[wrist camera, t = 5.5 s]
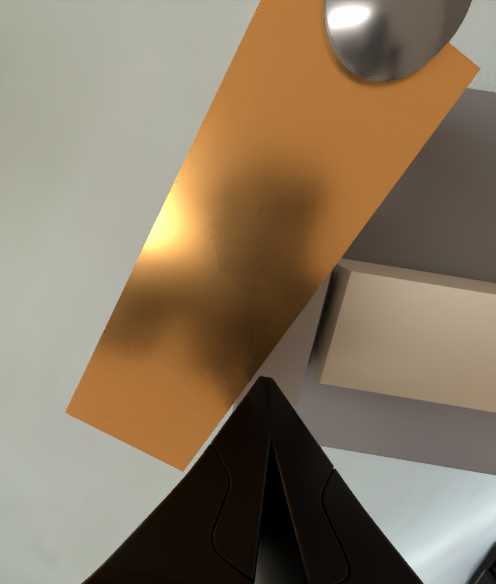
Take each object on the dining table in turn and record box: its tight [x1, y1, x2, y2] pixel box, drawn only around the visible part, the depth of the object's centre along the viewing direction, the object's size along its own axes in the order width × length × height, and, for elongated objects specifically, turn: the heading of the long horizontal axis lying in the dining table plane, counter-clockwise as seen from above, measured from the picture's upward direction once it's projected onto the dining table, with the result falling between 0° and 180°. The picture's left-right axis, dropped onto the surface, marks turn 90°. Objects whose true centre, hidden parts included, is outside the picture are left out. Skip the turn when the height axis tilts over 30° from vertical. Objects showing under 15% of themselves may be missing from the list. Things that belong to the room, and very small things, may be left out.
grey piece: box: [233, 88, 496, 475], centre depth 10 cm, size 16×18×5 cm
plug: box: [311, 258, 496, 413], centre depth 10 cm, size 13×4×4 cm, turn 81°
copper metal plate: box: [65, 0, 480, 471], centre depth 6 cm, size 4×13×2 cm, turn 148°
